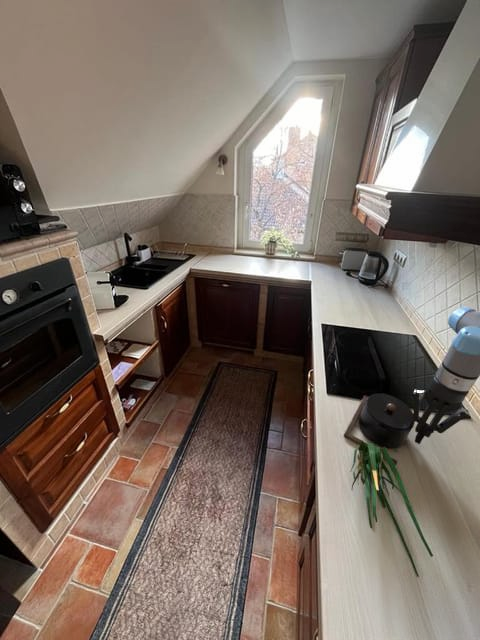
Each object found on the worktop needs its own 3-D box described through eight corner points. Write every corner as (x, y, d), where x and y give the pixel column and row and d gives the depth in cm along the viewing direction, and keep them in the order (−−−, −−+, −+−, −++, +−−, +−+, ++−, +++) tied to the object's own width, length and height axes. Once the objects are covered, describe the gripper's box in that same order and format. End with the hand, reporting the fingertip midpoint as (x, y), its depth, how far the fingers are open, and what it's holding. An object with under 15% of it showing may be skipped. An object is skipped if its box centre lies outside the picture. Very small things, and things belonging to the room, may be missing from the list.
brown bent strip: (408, 419, 88) (410, 416, 88) (395, 466, 74) (396, 464, 73) (363, 397, 97) (364, 395, 96) (343, 435, 82) (344, 433, 81)
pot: (409, 426, 86) (423, 401, 80) (397, 460, 75) (412, 435, 69) (367, 404, 94) (376, 380, 88) (350, 432, 83) (360, 407, 77)
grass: (335, 465, 79) (330, 545, 56) (350, 426, 75) (352, 496, 52) (398, 494, 73) (422, 596, 50) (419, 454, 69) (455, 546, 46)
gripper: (420, 378, 67) (391, 436, 78) (484, 403, 60) (441, 462, 71) (424, 364, 72) (396, 420, 83) (483, 386, 65) (444, 443, 76)
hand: (417, 439), depth 77 cm, fingers closed
